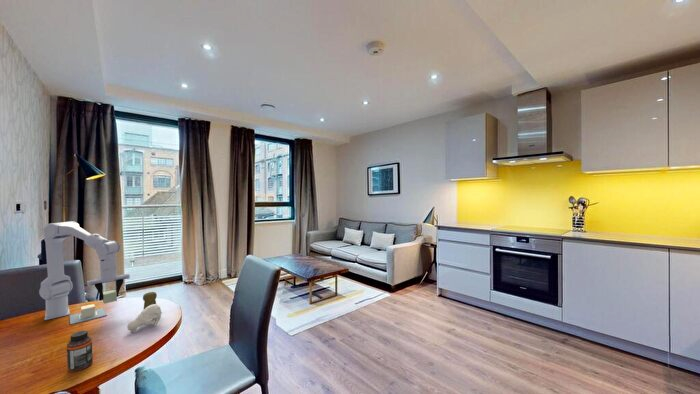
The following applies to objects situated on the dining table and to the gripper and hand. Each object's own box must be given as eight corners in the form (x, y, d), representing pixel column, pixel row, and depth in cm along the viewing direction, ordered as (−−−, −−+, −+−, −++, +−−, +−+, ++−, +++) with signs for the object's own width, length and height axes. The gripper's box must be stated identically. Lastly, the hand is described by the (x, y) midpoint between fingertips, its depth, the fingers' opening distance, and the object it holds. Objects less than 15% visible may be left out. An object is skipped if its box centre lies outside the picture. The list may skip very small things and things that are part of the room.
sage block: (102, 301, 127) (102, 292, 127) (115, 298, 131) (115, 289, 130) (103, 303, 124) (103, 294, 124) (116, 300, 127) (116, 292, 127)
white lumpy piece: (162, 304, 121) (129, 317, 111) (164, 322, 122) (132, 337, 112) (155, 301, 124) (122, 313, 114) (157, 319, 125) (125, 333, 115)
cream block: (81, 315, 130) (81, 306, 129) (94, 312, 133) (94, 303, 133) (81, 318, 126) (81, 309, 126) (95, 315, 130) (94, 306, 129)
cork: (150, 320, 125) (149, 295, 125) (138, 318, 126) (138, 294, 126) (161, 314, 131) (160, 290, 131) (150, 313, 132) (150, 290, 132)
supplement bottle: (70, 365, 93) (69, 331, 92) (94, 359, 96) (93, 326, 96) (64, 375, 88) (63, 339, 87) (90, 368, 91) (89, 334, 90)
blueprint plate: (69, 316, 129) (69, 315, 129) (104, 308, 138) (104, 307, 138) (70, 324, 121) (70, 323, 121) (106, 315, 130) (106, 314, 130)
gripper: (87, 273, 119) (88, 304, 119) (130, 266, 129) (131, 295, 130) (86, 270, 124) (87, 300, 124) (127, 263, 134) (128, 291, 135)
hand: (109, 297), depth 127 cm, fingers closed on sage block, 4 cm apart
